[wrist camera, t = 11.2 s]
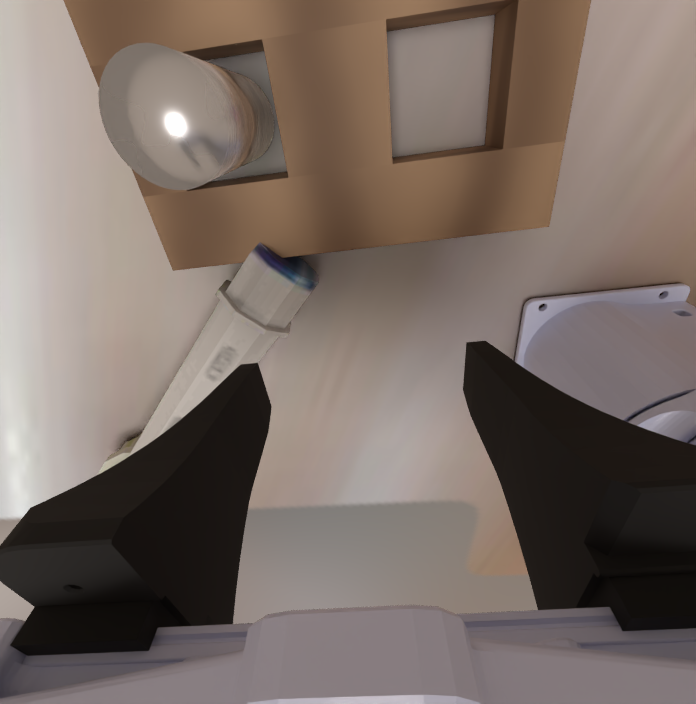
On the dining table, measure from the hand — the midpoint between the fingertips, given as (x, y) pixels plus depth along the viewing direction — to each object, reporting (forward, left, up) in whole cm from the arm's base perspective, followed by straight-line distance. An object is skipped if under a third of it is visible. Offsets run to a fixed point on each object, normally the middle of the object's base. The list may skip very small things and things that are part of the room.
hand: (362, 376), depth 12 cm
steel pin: (+5, -8, -10) cm, 14 cm away
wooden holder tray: (0, -8, -10) cm, 13 cm away
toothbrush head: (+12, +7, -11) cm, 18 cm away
